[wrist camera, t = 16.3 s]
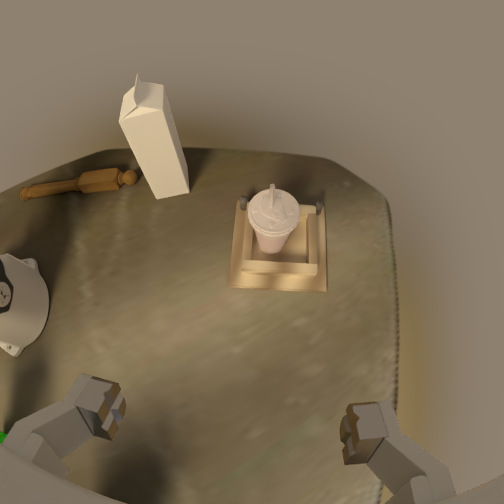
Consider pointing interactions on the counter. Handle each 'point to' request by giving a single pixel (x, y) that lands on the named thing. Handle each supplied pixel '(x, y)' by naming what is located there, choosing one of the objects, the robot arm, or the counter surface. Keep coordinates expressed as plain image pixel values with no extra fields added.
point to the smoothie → (273, 218)
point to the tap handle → (82, 183)
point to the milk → (154, 138)
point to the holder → (280, 254)
